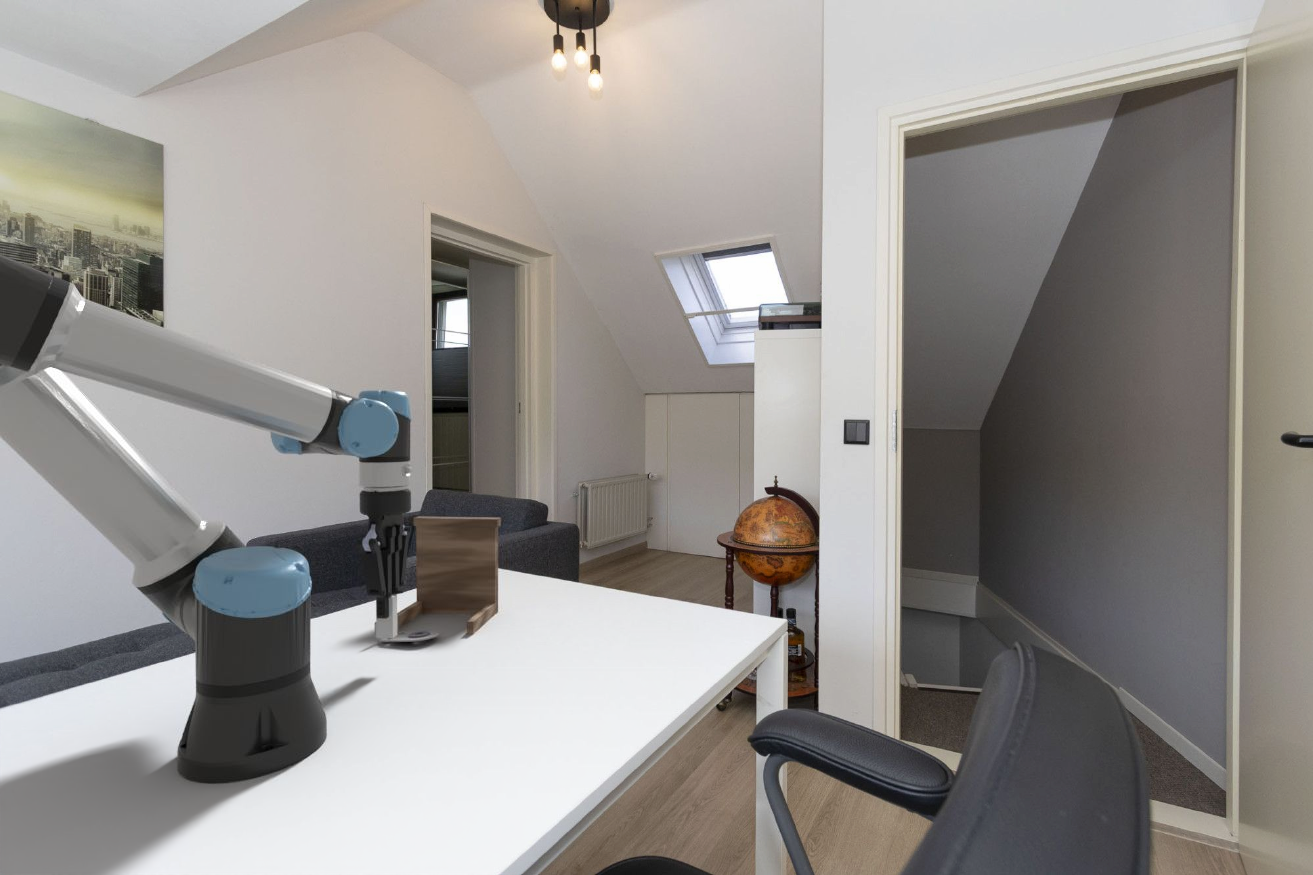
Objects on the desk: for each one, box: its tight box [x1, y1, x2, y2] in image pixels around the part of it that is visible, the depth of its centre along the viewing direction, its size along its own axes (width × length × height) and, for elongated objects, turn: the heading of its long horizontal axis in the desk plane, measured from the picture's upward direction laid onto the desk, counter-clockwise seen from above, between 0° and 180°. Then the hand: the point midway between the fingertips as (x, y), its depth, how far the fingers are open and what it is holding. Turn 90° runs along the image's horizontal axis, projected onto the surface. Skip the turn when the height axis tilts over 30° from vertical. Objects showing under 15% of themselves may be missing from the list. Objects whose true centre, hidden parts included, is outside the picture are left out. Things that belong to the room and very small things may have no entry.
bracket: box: [374, 615, 440, 643], centre depth 116 cm, size 7×10×3 cm, turn 78°
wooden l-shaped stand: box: [397, 515, 502, 636], centre depth 127 cm, size 15×17×20 cm
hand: (386, 636), depth 103 cm, fingers closed
